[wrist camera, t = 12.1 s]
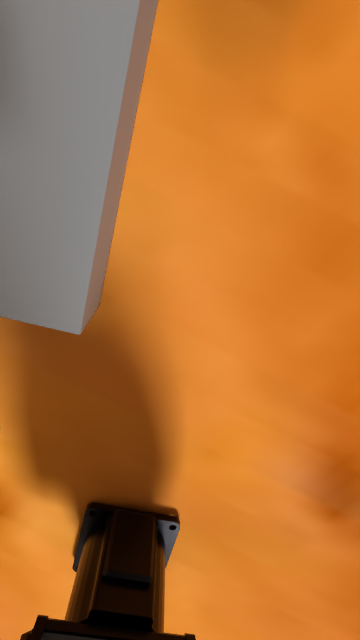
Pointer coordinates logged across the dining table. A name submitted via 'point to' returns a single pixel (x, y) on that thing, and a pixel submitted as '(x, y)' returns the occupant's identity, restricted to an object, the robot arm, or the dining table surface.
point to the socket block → (64, 149)
